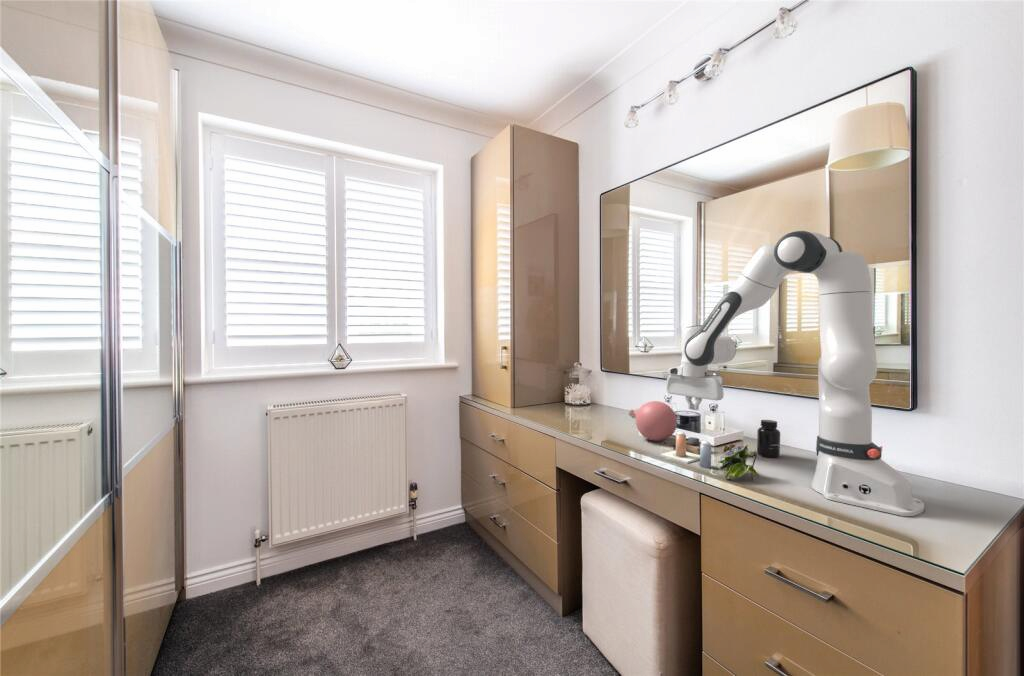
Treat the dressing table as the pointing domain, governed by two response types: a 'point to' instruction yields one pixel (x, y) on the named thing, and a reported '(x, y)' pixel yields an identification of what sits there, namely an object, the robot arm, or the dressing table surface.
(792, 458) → the dressing table surface
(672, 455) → the sketch pad
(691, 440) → the button
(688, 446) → the button block
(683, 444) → the cylinder
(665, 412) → the pink balloon
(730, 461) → the passion flower
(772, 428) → the supplement bottle
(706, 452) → the cylinder
